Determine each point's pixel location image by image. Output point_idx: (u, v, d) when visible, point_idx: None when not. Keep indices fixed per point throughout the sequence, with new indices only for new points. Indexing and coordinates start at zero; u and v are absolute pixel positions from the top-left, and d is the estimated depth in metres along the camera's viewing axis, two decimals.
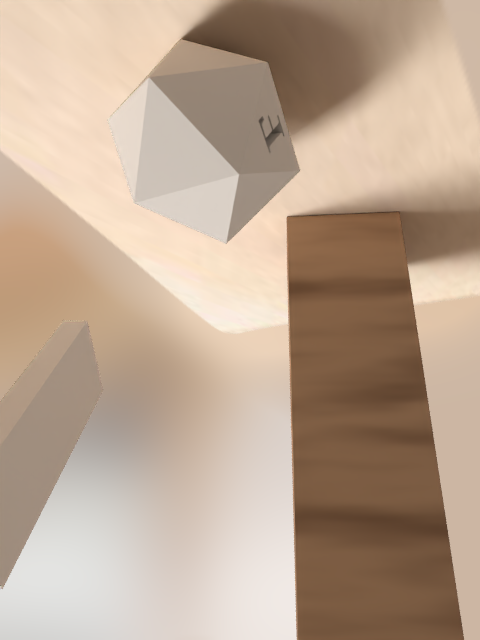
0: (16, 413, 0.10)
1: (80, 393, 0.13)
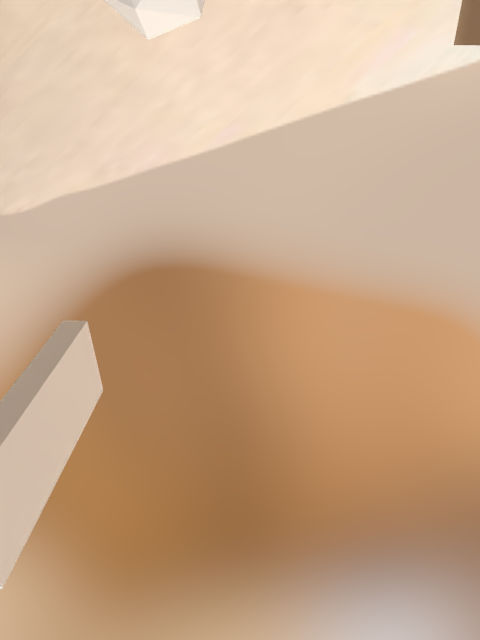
0: (16, 413, 0.10)
1: (80, 393, 0.13)
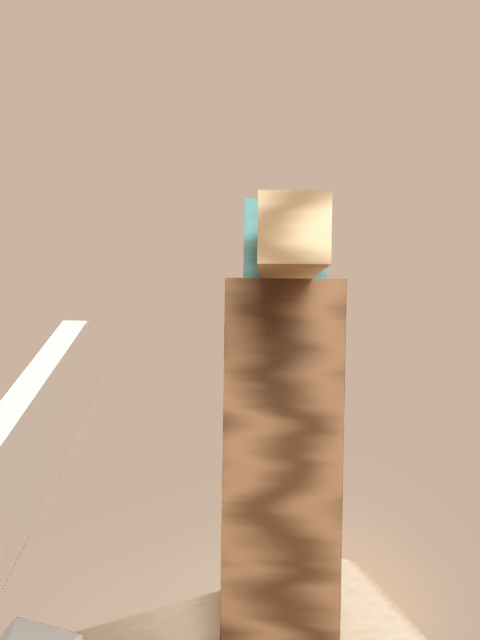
0: (16, 413, 0.10)
1: (80, 393, 0.13)
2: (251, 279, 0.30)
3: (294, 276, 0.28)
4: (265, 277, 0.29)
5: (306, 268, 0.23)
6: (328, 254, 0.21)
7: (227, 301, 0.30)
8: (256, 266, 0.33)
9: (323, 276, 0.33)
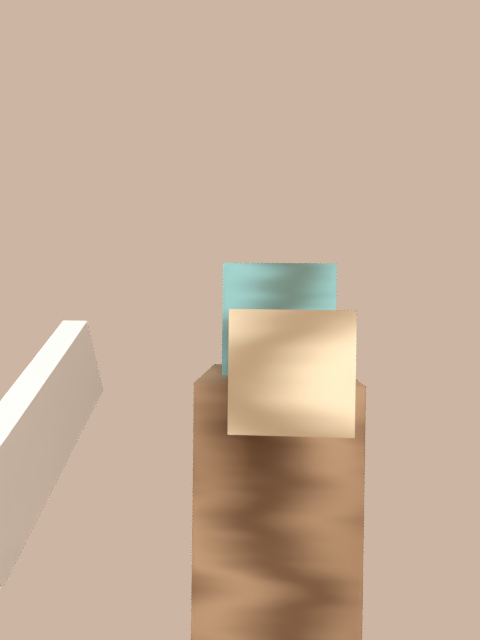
0: (16, 413, 0.10)
1: (80, 393, 0.13)
2: None
3: None
4: None
5: None
6: (350, 422, 0.12)
7: (197, 416, 0.21)
8: None
9: None
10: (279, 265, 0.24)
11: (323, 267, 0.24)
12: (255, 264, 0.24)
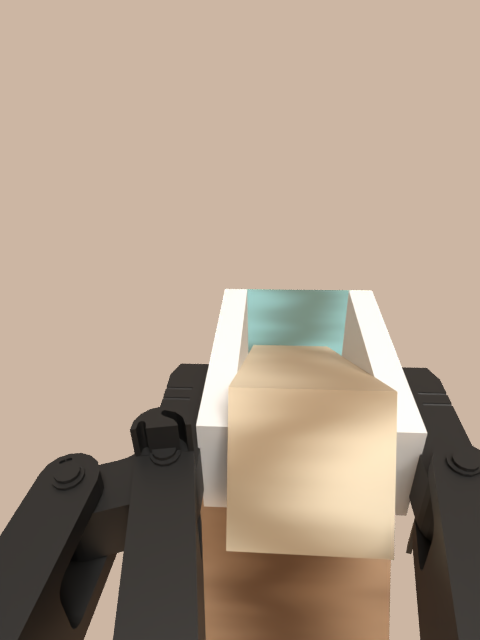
0: (232, 360, 0.12)
1: (245, 353, 0.15)
2: None
3: None
4: None
5: None
6: (388, 539, 0.09)
7: None
8: None
9: None
10: (290, 292, 0.21)
11: (341, 294, 0.21)
12: (263, 291, 0.21)
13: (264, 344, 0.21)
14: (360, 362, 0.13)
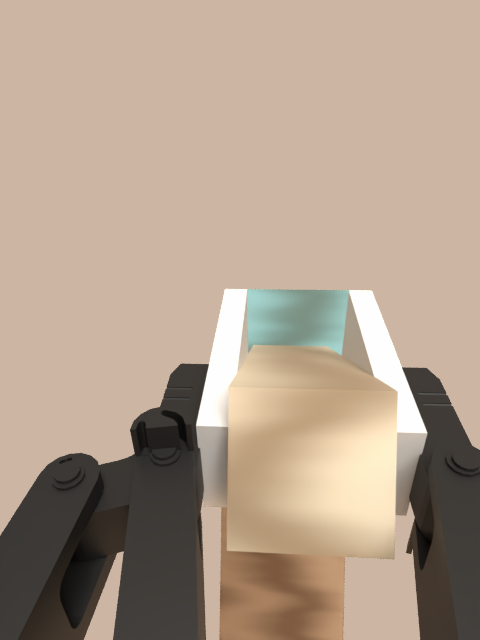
0: (231, 360, 0.12)
1: (245, 353, 0.15)
2: None
3: None
4: None
5: None
6: (389, 538, 0.09)
7: None
8: None
9: None
10: (290, 292, 0.21)
11: (341, 294, 0.21)
12: (263, 291, 0.21)
13: (264, 344, 0.21)
14: (360, 362, 0.13)
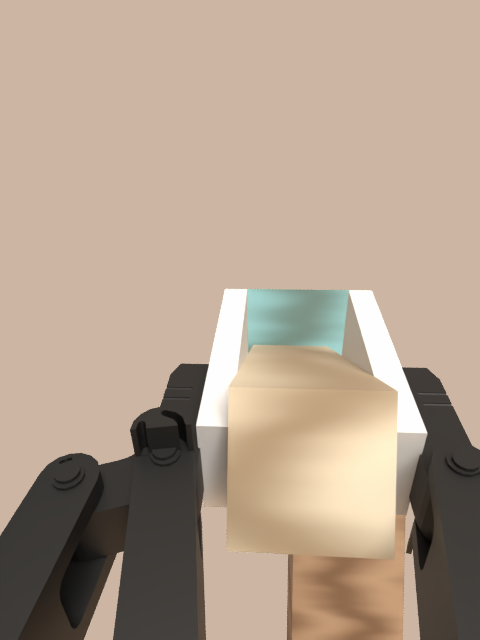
0: (231, 360, 0.12)
1: (245, 353, 0.15)
2: None
3: None
4: None
5: None
6: (389, 538, 0.09)
7: None
8: None
9: None
10: (290, 292, 0.21)
11: (340, 294, 0.21)
12: (263, 290, 0.21)
13: (264, 344, 0.21)
14: (360, 362, 0.13)
